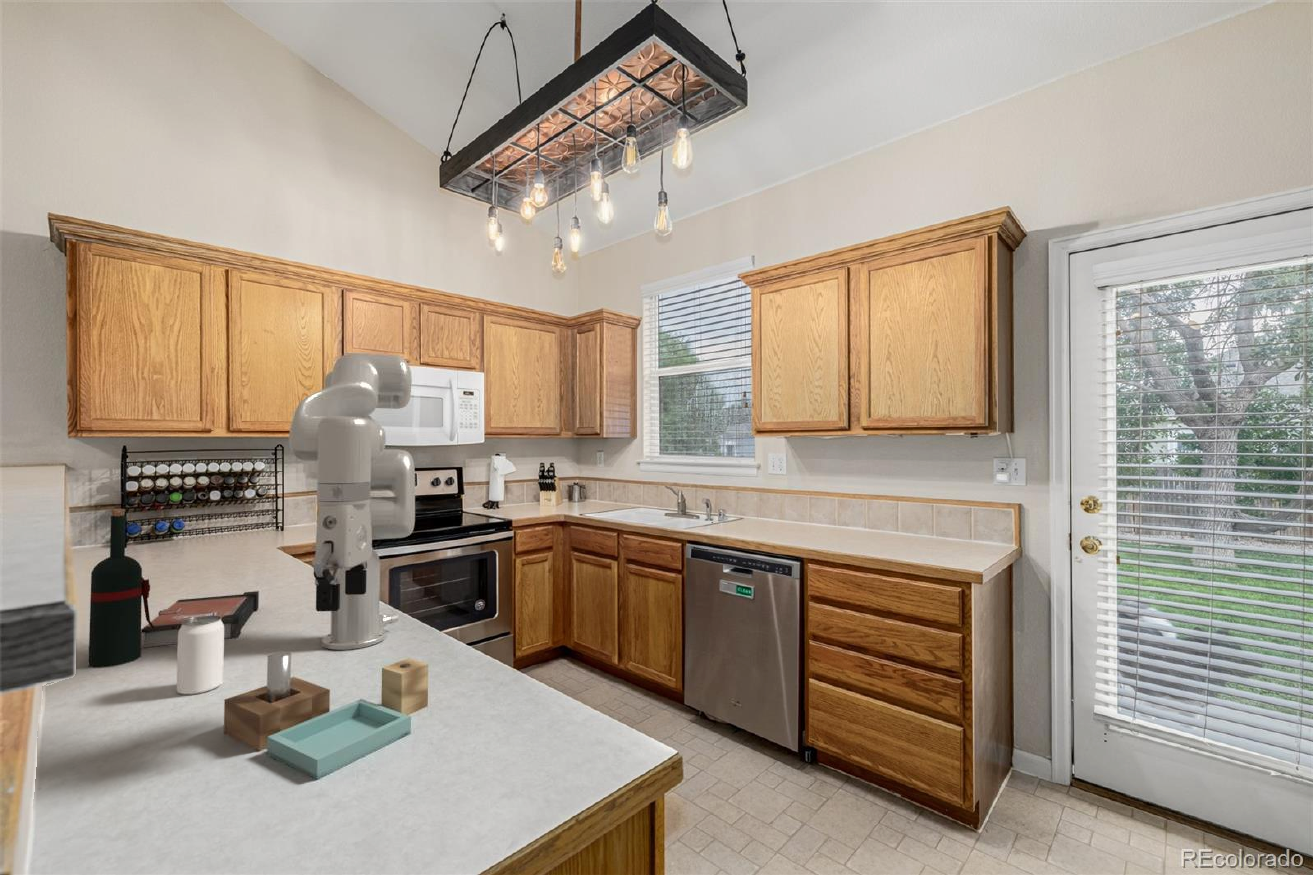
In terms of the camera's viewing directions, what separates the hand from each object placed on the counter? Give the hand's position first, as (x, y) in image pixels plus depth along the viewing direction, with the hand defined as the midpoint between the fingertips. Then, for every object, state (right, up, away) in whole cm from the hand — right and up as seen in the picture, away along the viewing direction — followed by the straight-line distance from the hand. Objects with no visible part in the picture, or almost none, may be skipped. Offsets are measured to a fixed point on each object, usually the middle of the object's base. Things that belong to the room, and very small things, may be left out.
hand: (342, 602), depth 92 cm
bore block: (-8, -18, -3) cm, 20 cm away
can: (-31, -19, +11) cm, 38 cm away
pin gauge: (-8, -17, -3) cm, 19 cm away
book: (-57, -19, +45) cm, 76 cm away
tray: (+4, -18, -8) cm, 20 cm away
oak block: (+8, -19, +3) cm, 21 cm away
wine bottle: (-58, -19, +25) cm, 65 cm away
